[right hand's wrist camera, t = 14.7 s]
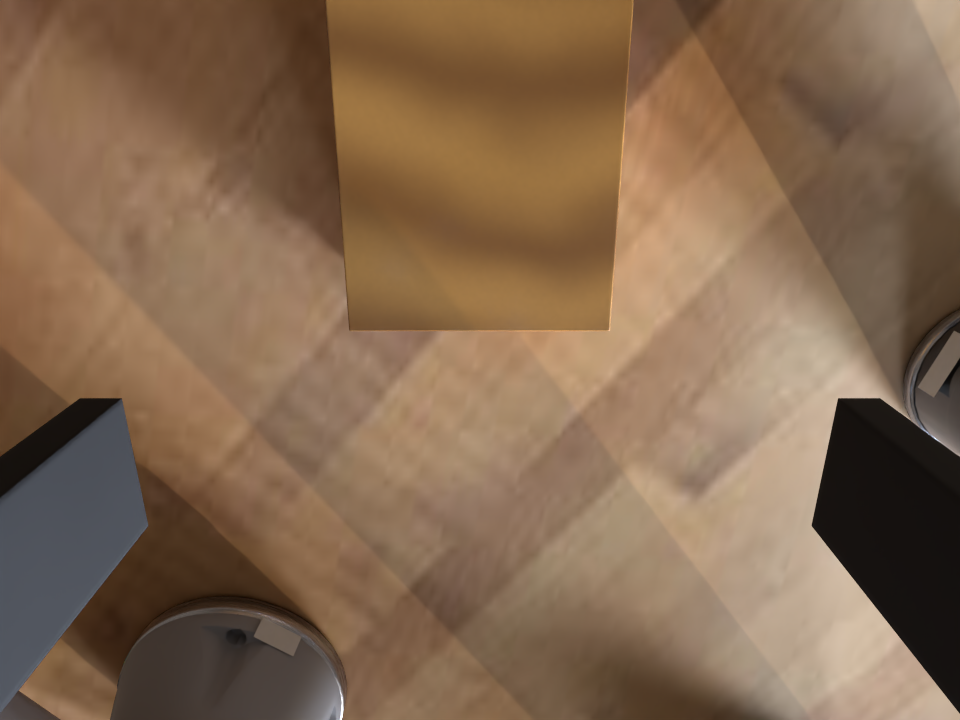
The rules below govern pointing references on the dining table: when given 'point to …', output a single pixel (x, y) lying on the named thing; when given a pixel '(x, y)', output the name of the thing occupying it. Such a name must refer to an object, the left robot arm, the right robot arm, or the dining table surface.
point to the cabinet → (479, 160)
